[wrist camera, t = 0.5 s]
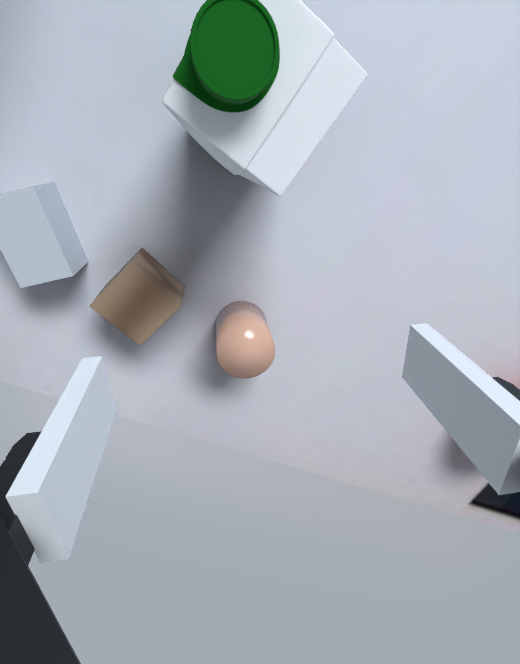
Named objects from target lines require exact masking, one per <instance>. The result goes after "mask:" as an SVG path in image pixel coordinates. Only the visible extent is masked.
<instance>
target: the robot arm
mask: <svg viewBox="0 0 520 664" xmlns="http://www.w3.org/2000/svg"><path fill="white" fill-rule="evenodd" d="M402 377H403V379H404V380H405V381H406V382H407V384H408V385H409V386H410V387H411V388H412V390H413V391H414V392H415V393H416V395H417V396H418V397H419V398H420V399H421V401H422V402H423V403H424V404H425V406H426V407H427V408H428V409H429V410H430V412H431V413H432V414H433V415H434V417H435V418H436V419H437V420H438V421H439V423H440V424H441V425H442V426H443V427H444V429H445V430H446V431H447V432H448V434H449V435H450V436H451V437H452V438H453V440H454V441H455V442H456V443H457V445H458V446H459V447H460V448H461V449H462V451H463V452H464V453H465V454H466V456H467V457H468V458H469V459H470V460H471V462H472V463H473V464H474V465H475V466H476V468H477V469H478V470H479V471H480V473H481V474H482V475H483V476H484V477H485V479H486V480H487V481H488V482H489V484H490V485H491V486H492V487H493V488H494V490H495V491H496V492H497V493H498V495H502V494H508V493H515V492H520V390H519V389H518V388H517V387H515V386H514V385H513V384H511V383H509V382H507V381H505V380H503V379H501V378H499V377H493V378H492V377H490V376H489V375H488V374H487V373H486V372H484V371H483V370H482V369H481V368H480V367H479V366H477V365H476V364H475V363H474V362H473V361H471V360H470V359H469V358H468V357H467V356H465V355H464V354H463V353H462V352H461V351H459V350H458V349H457V348H456V347H455V346H454V345H452V344H451V343H450V342H449V341H448V340H446V339H445V338H444V337H443V336H442V335H440V334H439V333H438V332H437V331H436V330H434V329H433V328H432V327H431V326H430V325H428V324H427V323H425V324H415V325H410V331H409V337H408V343H407V350H406V356H405V362H404V368H403V375H402ZM116 412H117V407H116V404H115V400H114V397H113V393H112V390H111V386H110V383H109V379H108V375H107V372H106V368H105V365H104V361H103V358H102V356H99V357H89V358H82V360H81V362H80V364H79V365H78V367H77V369H76V371H75V373H74V374H73V376H72V378H71V380H70V382H69V383H68V385H67V387H66V389H65V391H64V392H63V394H62V396H61V398H60V400H59V401H58V403H57V405H56V407H55V409H54V410H53V412H52V414H51V416H50V418H49V419H48V421H47V423H46V425H45V427H44V428H43V430H42V432H33V433H27V434H26V435H25V436H23V437H22V438H21V439H20V440H19V441H18V442H17V443H16V444H15V445H14V446H13V447H12V449H11V450H10V452H9V453H8V455H7V457H6V460H5V461H4V462H3V463H2V465H1V466H0V664H81V663H80V662H79V660H78V658H77V656H76V654H75V652H74V650H73V648H72V647H71V645H70V643H69V641H68V639H67V637H66V635H65V634H64V632H63V630H62V628H61V626H60V624H59V622H58V621H57V619H56V617H55V615H54V613H53V611H52V609H51V608H50V606H49V604H48V602H47V600H46V598H45V596H44V595H43V593H42V591H41V589H40V587H39V585H38V584H37V582H36V580H35V578H34V576H33V574H32V572H31V571H30V569H29V567H28V564H29V562H30V559H31V557H32V554H33V552H34V551H35V554H36V555H37V557H38V559H39V561H40V563H44V562H51V561H57V560H65V559H69V556H70V553H71V550H72V547H73V544H74V541H75V538H76V535H77V532H78V528H79V526H80V523H81V519H82V516H83V513H84V510H85V507H86V504H87V501H88V498H89V495H90V492H91V489H92V486H93V482H94V479H95V476H96V473H97V470H98V467H99V464H100V461H101V458H102V455H103V452H104V449H105V446H106V442H107V439H108V436H109V433H110V430H111V427H112V424H113V421H114V418H115V415H116Z"/></svg>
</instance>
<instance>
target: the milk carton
mask: <svg viewBox="0 0 520 664" xmlns="http://www.w3.org/2000/svg"><path fill="white" fill-rule="evenodd" d="M333 37H334V34H333V32H332V31H331V30H330V29H329V28H328V27H327V26H326V25H325V24H324V23H323V21H322V20H321V19H319V18H318V17H316V16H315V15H314V14H313V13H312V12H311V11H310V9H309V8H308V7H307V6H306V5H305V4H304V3H303V2H302V1H301V0H207V1H206V2H205V3H204V4H203V5H202V6H201V8H200V10H199V11H198V13H197V14H196V17H195V19H194V22H193V25H192V29H191V34H190V36H189V39H188V42H187V45H186V49H185V53H184V56H183V58H182V60H181V62H180V64H179V65H178V67H177V69H176V71H175V73H174V74H173V78H174V80H173V81H172V83H171V85H170V87H169V88H168V90H167V92H166V94H165V95H164V97H163V99H162V102H163V104H164V105H165V106H166V107H167V109H168V110H169V111H170V112H171V113H172V114H173V115H174V116H175V117H176V119H177V120H178V121H179V122H180V123H181V125H182V126H183V127H184V128H185V129H186V130H187V132H188V133H189V134H190V135H191V136H192V137H193V138H194V139H195V140H196V141H197V142H198V143H199V144H200V145H201V146H202V147H203V148H204V149H205V150H206V151H207V152H208V153H209V154H210V155H211V156H212V157H213V158H214V159H215V160H217V161H218V162H219V163H220V164H221V165H222V166H224V167H225V168H226V169H227V170H229V171H230V172H231V173H232V174H234V175H240V176H242V177H245V178H246V179H248V180H250V181H252V182H254V183H256V184H258V185H260V186H262V187H264V188H266V189H268V190H270V191H271V192H273V193H275V194H276V195H278V196H282V194H283V193H284V191H285V190H286V189H287V187H288V186H289V184H290V183H291V182H292V180H293V179H294V178H295V176H296V175H297V173H298V172H299V171H300V169H301V168H302V166H303V165H304V164H305V162H306V161H307V159H308V158H309V157H310V155H311V154H312V152H313V151H314V150H315V148H316V147H317V145H318V144H319V143H320V141H321V140H322V138H323V137H324V136H325V134H326V133H327V131H328V130H329V129H330V127H331V126H332V124H333V123H334V122H335V120H336V119H337V117H338V116H339V115H340V113H341V112H342V110H343V109H344V108H345V106H346V105H347V103H348V102H349V101H350V99H351V98H352V96H353V95H354V94H355V92H356V91H357V89H358V88H359V87H360V85H361V84H362V82H363V81H364V80H365V78H366V77H367V75H368V74H367V73H366V72H365V70H364V69H363V68H362V67H361V66H360V65H359V64H358V63H357V62H356V61H355V60H354V59H353V58H352V57H351V56H350V55H349V53H348V52H347V51H346V50H345V49H344V48H343V47H342V46H341V45H340V44H339V43H338V42H337V41H336V40H335V39H334V38H333Z"/></svg>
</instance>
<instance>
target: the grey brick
mask: <svg viewBox="0 0 520 664" xmlns="http://www.w3.org/2000/svg"><path fill="white" fill-rule="evenodd" d="M0 250H1V252H2V254H3V256H4V258H5V259H6V261H7V263H8V265H9V267H10V269H11V271H12V273H13V275H14V276H15V278H16V280H17V282H18V284H19V286H20V288H24V287H28V286H32V285H37V284H41V283H45V282H50V281H54V280H58V279H63V278H67V277H71V276H74V275H75V274H76V273H77V272H78V271H79V270H80V269H81V268H82V267H83V266H84V265H86V264H87V263H88V260H87V258H86V255H85V253H84V251H83V248H82V246H81V243H80V241H79V239H78V236H77V234H76V232H75V229H74V227H73V225H72V222H71V220H70V218H69V215H68V213H67V210H66V208H65V206H64V203H63V201H62V199H61V196H60V194H59V192H58V189H57V187H56V185H55V182H51V183H47V184H42V185H38V186H34V187H29V188H25V189H20V190H16V191H11V192H7V193H3V194H0Z"/></svg>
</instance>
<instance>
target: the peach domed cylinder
mask: <svg viewBox="0 0 520 664" xmlns="http://www.w3.org/2000/svg"><path fill="white" fill-rule="evenodd" d="M216 350H217V360H218V363H219V365H220V366H221V368H222V369H223V370H224V371H225V372H226V373H228V374H229V375H232V376H234V377H238V378H251V377H255V376H258V375H260V374H262V373H263V372H264V371H266V370H267V369H268V368H269V367H270V365H271V364H272V362H273V359H274V356H275V347H274V343H273V340H272V337H271V334H270V331H269V328H268V325H267V321H266V318H265V316H264V313H263V312H262V310H261V309H260V308H259V307H258V306H256V305H255V304H253V303H250V302H246V301H238V302H233V303H231V304H229V305H227V306H225V307H224V308H223V309H222V310H221V311H220V313H219V314H218V316H217V319H216Z"/></svg>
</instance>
